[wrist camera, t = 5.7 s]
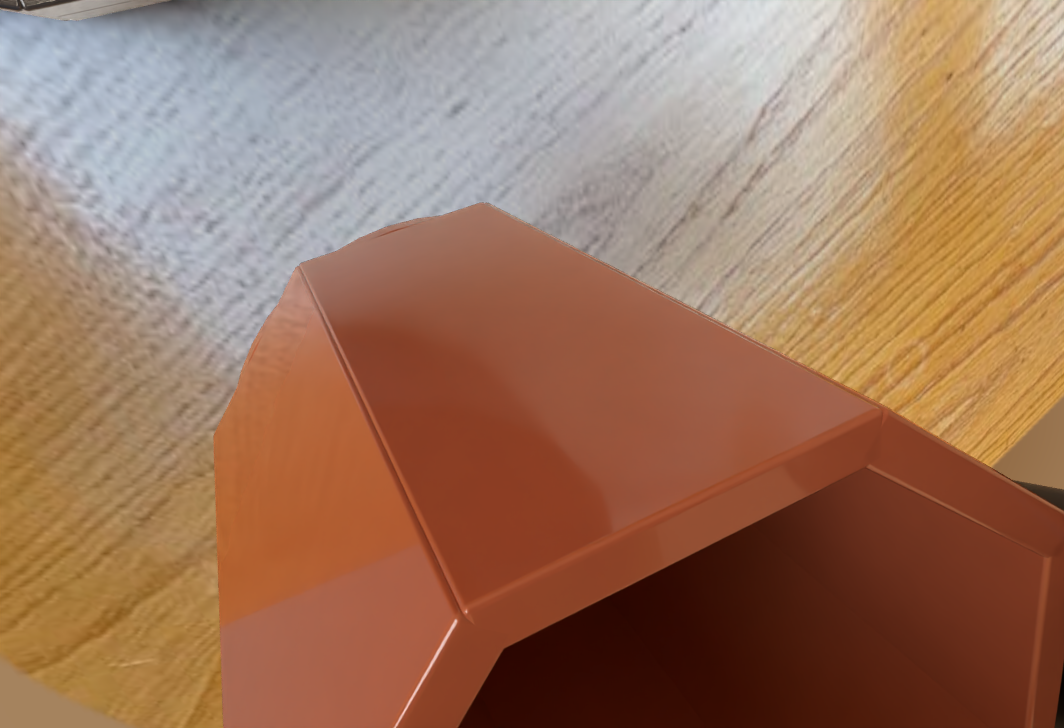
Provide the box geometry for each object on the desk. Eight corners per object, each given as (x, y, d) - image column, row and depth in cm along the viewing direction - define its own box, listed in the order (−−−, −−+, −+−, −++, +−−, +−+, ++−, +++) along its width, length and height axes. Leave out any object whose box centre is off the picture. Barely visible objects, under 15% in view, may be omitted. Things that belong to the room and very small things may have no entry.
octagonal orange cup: (324, 651, 13) (456, 1282, 6) (150, 304, 10) (47, 810, 3) (655, 494, 15) (1038, 865, 8) (590, 157, 12) (1119, 295, 5)
